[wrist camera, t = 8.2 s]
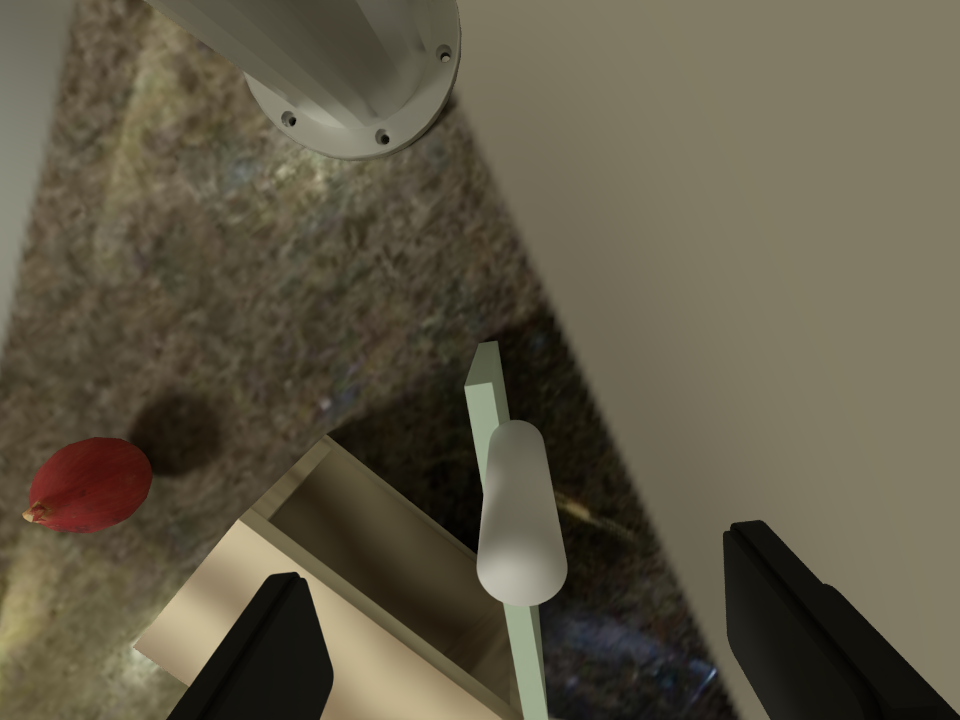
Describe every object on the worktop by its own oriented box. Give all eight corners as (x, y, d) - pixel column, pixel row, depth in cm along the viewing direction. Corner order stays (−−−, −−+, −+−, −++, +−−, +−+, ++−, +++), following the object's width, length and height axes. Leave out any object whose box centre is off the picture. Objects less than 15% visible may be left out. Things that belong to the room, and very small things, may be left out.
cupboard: (325, 434, 31) (238, 519, 21) (519, 588, 33) (524, 736, 23) (247, 528, 34) (132, 647, 23) (433, 669, 35) (403, 837, 25)
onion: (183, 498, 33) (84, 571, 26) (108, 491, 34) (-13, 562, 26) (176, 423, 32) (69, 477, 24) (98, 417, 32) (-33, 468, 24)
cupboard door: (525, 336, 29) (552, 458, 11) (561, 580, 33) (623, 957, 15) (478, 343, 29) (434, 473, 12) (519, 584, 33) (533, 959, 15)
